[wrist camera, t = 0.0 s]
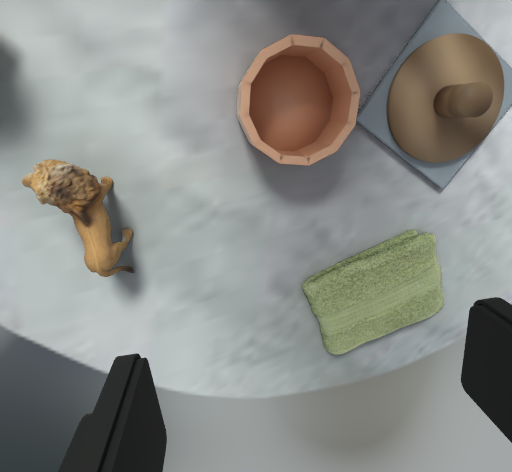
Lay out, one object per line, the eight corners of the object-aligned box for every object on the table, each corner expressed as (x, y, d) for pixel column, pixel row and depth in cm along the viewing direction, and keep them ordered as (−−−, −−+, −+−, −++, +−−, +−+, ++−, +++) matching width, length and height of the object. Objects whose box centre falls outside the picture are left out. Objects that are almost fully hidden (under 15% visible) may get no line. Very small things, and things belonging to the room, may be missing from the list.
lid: (443, 6, 35) (480, -13, 30) (521, 85, 38) (567, 81, 33) (362, 118, 38) (385, 118, 33) (442, 183, 41) (474, 192, 36)
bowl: (275, 23, 35) (287, 6, 29) (357, 91, 38) (382, 87, 32) (217, 119, 37) (217, 120, 31) (298, 176, 40) (311, 186, 34)
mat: (438, 0, 35) (443, -3, 35) (521, 85, 39) (527, 84, 38) (353, 119, 38) (356, 119, 38) (438, 187, 42) (443, 188, 41)
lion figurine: (49, 161, 36) (-2, 175, 28) (96, 143, 36) (59, 152, 28) (115, 277, 41) (90, 319, 33) (156, 262, 41) (141, 300, 33)
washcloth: (441, 302, 49) (456, 315, 46) (325, 349, 49) (332, 365, 46) (423, 220, 44) (438, 228, 41) (295, 273, 44) (300, 285, 41)
